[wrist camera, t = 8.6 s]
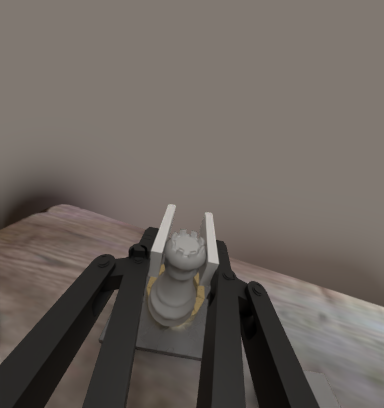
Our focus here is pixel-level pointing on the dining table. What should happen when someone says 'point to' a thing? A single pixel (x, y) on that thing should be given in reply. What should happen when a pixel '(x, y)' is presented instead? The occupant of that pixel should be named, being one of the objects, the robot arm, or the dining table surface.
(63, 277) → the dining table surface
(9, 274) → the dining table surface
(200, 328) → the ring plate
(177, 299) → the rook chess piece
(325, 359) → the dining table surface
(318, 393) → the grey block
